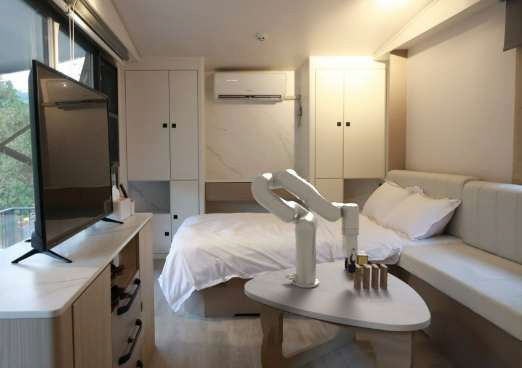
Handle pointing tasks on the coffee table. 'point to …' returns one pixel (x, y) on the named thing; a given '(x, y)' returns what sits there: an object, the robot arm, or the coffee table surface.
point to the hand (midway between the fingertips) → (350, 270)
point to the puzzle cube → (361, 259)
